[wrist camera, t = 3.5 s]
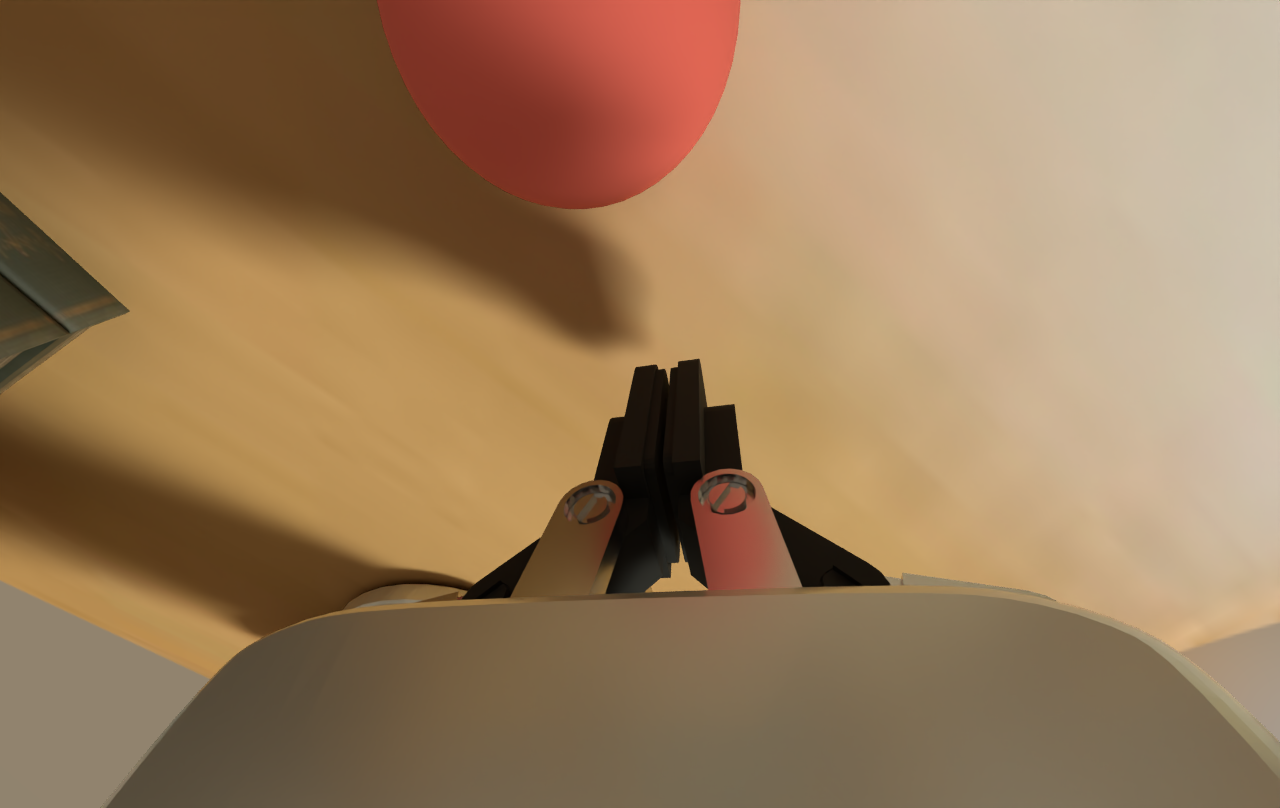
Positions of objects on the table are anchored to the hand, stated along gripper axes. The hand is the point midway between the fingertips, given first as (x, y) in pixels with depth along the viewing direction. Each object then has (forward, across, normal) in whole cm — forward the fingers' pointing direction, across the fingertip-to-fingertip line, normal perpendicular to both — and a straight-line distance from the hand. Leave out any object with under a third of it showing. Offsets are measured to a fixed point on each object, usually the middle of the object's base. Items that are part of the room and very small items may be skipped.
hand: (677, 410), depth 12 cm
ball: (0, +1, -8) cm, 8 cm away
